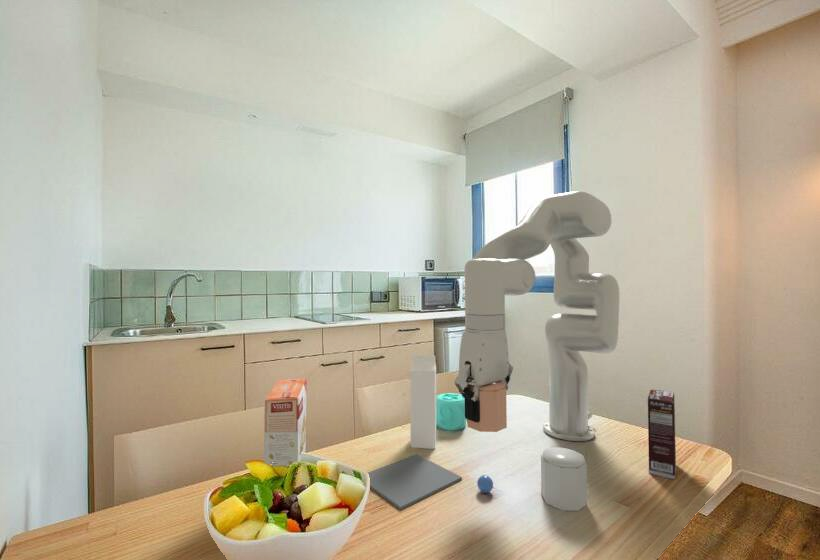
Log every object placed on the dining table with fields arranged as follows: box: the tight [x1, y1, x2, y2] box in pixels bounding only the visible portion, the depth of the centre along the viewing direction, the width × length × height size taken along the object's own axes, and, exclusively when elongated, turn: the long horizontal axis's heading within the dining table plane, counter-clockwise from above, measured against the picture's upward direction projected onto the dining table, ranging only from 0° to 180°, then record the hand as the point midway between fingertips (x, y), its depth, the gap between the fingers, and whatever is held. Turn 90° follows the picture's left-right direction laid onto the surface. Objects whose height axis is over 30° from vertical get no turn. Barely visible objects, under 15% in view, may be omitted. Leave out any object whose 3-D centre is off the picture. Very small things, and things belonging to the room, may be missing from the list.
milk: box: [409, 354, 437, 450], centre depth 96 cm, size 6×6×22 cm
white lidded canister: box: [540, 446, 588, 512], centre depth 71 cm, size 7×7×8 cm
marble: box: [476, 474, 494, 494], centre depth 74 cm, size 3×3×3 cm
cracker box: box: [263, 378, 308, 467], centre depth 71 cm, size 14×6×21 cm, turn 9°
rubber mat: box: [367, 453, 463, 511], centre depth 78 cm, size 16×14×1 cm
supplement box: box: [647, 389, 677, 480], centre depth 83 cm, size 9×5×16 cm, turn 145°
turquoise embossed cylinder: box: [436, 392, 467, 432], centre depth 108 cm, size 8×8×8 cm
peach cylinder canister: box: [466, 380, 508, 433], centre depth 74 cm, size 7×7×8 cm
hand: (486, 414), depth 74 cm, fingers closed on peach cylinder canister, 7 cm apart
